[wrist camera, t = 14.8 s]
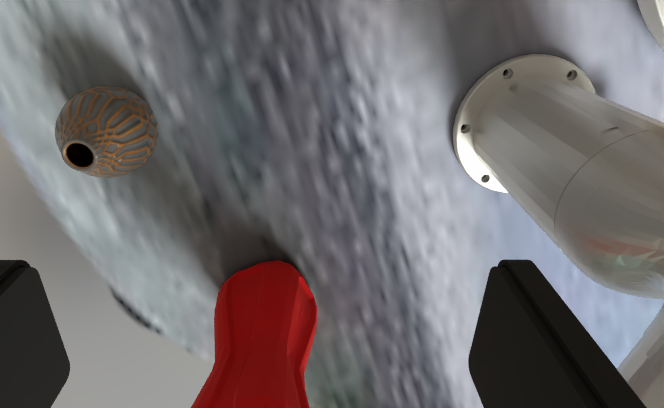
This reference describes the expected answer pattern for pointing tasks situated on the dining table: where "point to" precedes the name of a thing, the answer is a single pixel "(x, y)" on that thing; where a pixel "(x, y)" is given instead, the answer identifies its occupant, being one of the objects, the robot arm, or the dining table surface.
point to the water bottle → (261, 340)
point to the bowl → (654, 18)
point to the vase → (106, 131)
